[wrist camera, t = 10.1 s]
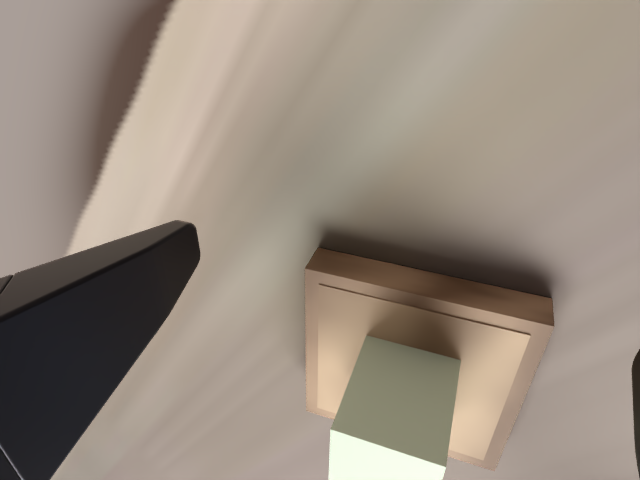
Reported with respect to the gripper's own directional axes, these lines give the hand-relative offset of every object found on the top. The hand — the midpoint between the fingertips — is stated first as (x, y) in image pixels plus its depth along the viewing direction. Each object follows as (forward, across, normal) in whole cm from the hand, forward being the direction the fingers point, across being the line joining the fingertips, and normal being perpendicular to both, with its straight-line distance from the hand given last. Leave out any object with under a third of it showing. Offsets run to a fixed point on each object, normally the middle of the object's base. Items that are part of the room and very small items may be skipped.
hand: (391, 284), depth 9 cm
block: (+10, 0, +15) cm, 18 cm away
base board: (+12, 0, +15) cm, 20 cm away
